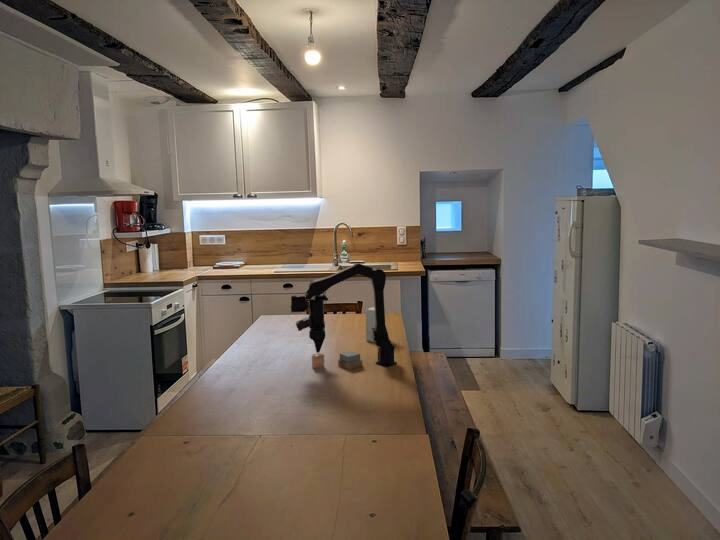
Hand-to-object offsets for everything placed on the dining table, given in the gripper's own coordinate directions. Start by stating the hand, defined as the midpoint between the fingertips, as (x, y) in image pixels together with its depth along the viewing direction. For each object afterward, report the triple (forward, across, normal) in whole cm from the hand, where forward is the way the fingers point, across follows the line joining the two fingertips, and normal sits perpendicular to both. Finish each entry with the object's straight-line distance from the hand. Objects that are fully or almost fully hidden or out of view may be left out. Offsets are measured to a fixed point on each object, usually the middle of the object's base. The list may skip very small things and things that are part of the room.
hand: (318, 349), depth 219 cm
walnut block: (+8, 0, +13) cm, 15 cm away
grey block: (+5, 0, +13) cm, 14 cm away
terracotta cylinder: (+8, 0, 0) cm, 8 cm away
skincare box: (+8, -38, +27) cm, 48 cm away
